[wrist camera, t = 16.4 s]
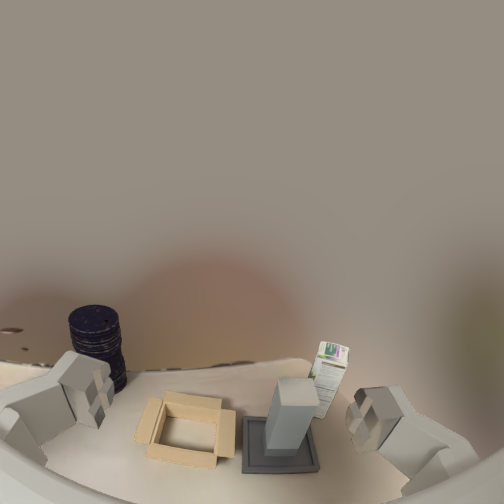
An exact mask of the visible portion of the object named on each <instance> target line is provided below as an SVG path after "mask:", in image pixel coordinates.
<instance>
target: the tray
mask: <svg viewBox="0 0 504 504" xmlns="http://www.w3.org/2000/svg"><path fill="white" fill-rule="evenodd" d="M266 421H267V418H265V417H248V416H243V418H242V473H245V474H298V473H313V472H318V471H319V469H320V467H319V463H318V459H317V454H316V450H315V445H314V441H313V437H312V433H311V428H310V425H309V427H308V430H307V432H306V434H305V436H304V438H303V440H302V442H301V444H300V446H299V449H298V451H297V453H296V455H295V456H264V449H263V430H264V427H265V425H266Z"/></svg>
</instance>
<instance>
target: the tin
mask: <svg viewBox="0 0 504 504" xmlns="http://www.w3.org/2000/svg"><path fill="white" fill-rule="evenodd" d="M277 381H278V382H277V385H276V389H275V393H274V396H273V400H272V404H271V407H270V411H269V414H268V418H267V421H266V425H265V427H264V430H263V449H264V456H295V455H296V453H297V451H298V449H299V446H300V444H301V442H302V440H303V438H304V436H305V434H306V432H307V430H308V427H309V425H310V423H311V421H312V419H313V416H314V414H315V412H316V409H317V407H318V406H319V404H320V401H319V398H318V395H317V391H316V388H315V385H314V381H313V379H312V378H281V377H278V380H277Z"/></svg>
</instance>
